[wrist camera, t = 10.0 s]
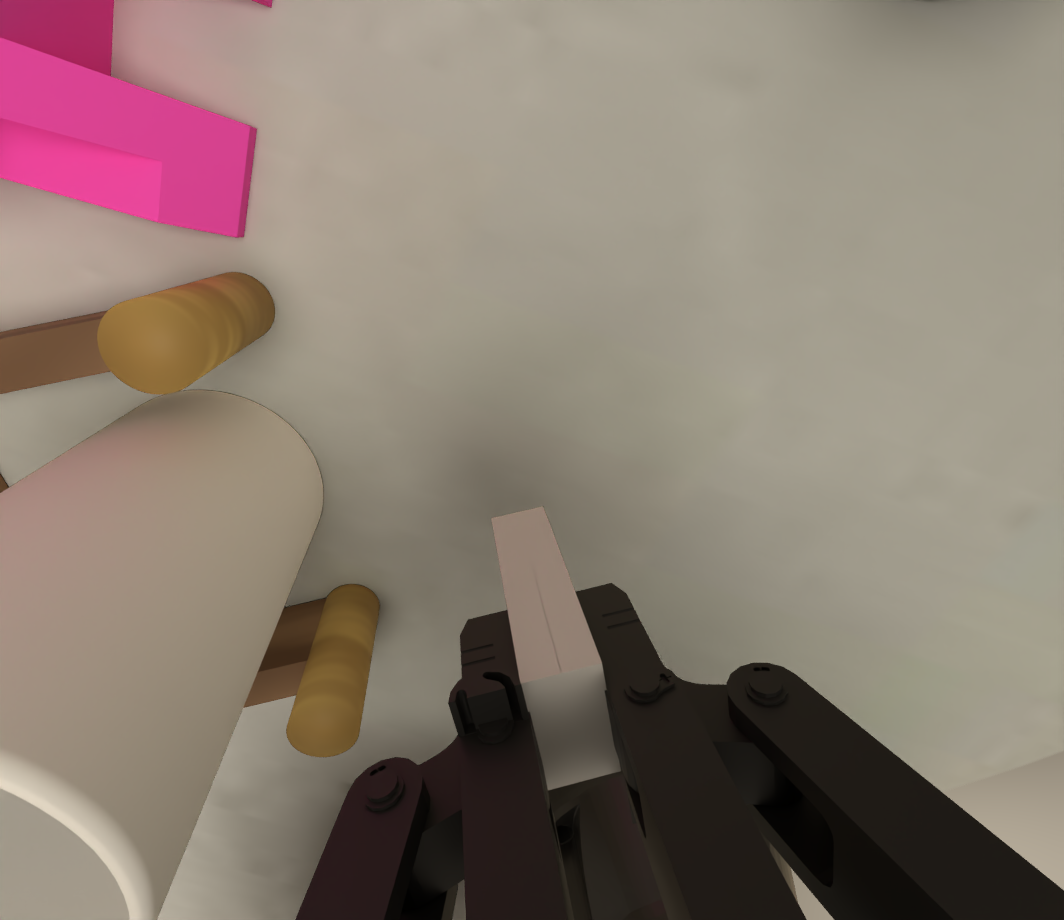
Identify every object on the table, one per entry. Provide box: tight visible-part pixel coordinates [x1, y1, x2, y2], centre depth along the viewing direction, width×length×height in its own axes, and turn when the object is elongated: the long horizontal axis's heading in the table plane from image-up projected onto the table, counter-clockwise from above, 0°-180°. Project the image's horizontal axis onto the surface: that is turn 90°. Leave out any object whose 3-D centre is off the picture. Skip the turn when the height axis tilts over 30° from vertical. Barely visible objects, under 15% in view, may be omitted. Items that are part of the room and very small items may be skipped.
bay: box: [0, 272, 380, 757], centre depth 20 cm, size 16×13×7 cm
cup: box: [0, 390, 323, 920], centre depth 16 cm, size 8×8×16 cm
